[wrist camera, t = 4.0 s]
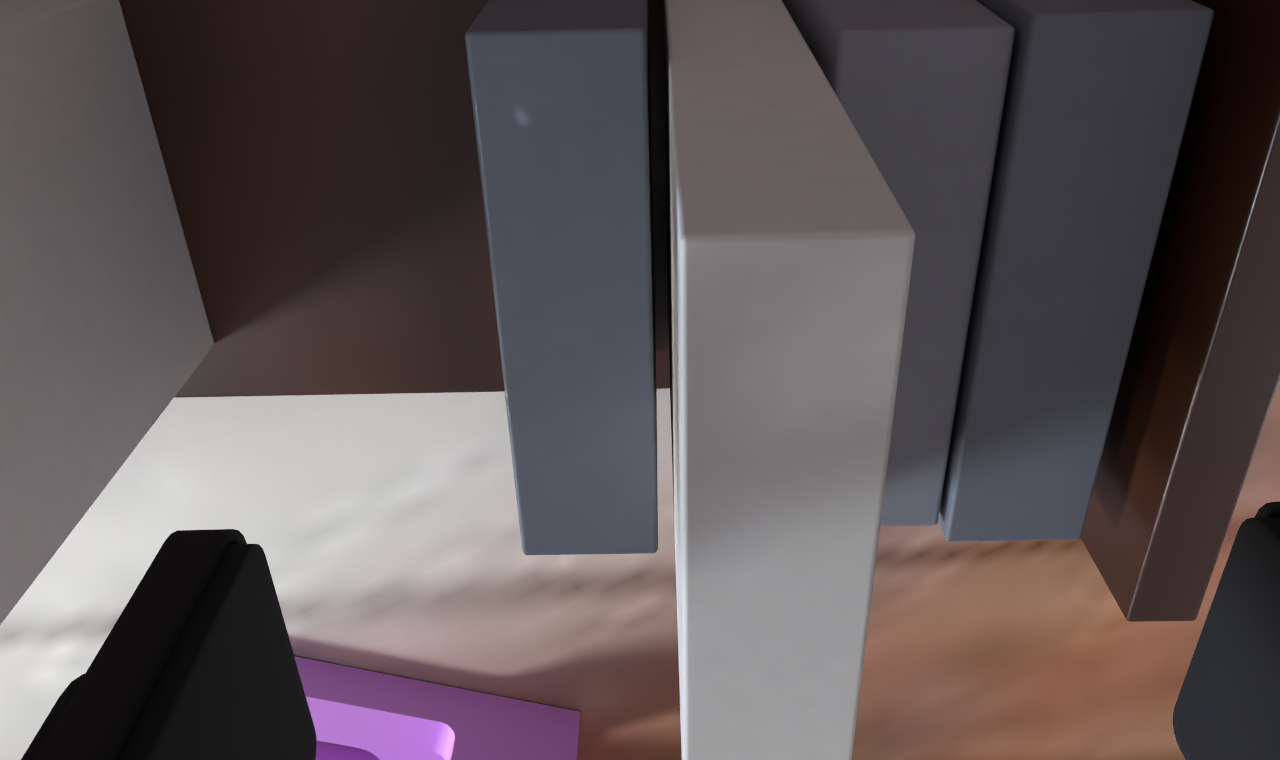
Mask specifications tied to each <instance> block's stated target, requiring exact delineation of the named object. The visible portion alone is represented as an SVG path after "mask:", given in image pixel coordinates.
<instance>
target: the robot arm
mask: <svg viewBox="0 0 1280 760" xmlns="http://www.w3.org/2000/svg"><path fill="white" fill-rule="evenodd" d="M1173 727H1174V733H1175V737H1176V740H1177V743H1178V745H1179V748H1180V750H1181V752H1182V754H1183V755H1184V757H1185V759H1186V760H1280V502H1271V503H1266V504H1265V505H1264V506H1262V507H1261V508H1260V509H1259V510H1258V512H1257V514H1256V516H1255V518H1249V519H1246V520H1245V521H1244V522H1243V523H1242V524H1241V526H1240V528H1239V530H1238V533H1237V535H1236V538H1235V541H1234V544H1233V546H1232V549H1231V552H1230V555H1229V558H1228V560H1227V563H1226V566H1225V569H1224V571H1223V574H1222V577H1221V580H1220V583H1219V585H1218V588H1217V591H1216V594H1215V596H1214V599H1213V602H1212V605H1211V608H1210V610H1209V613H1208V616H1207V619H1206V621H1205V624H1204V627H1203V630H1202V633H1201V635H1200V638H1199V641H1198V644H1197V646H1196V649H1195V652H1194V655H1193V658H1192V660H1191V663H1190V666H1189V669H1188V671H1187V674H1186V677H1185V680H1184V683H1183V685H1182V688H1181V691H1180V694H1179V696H1178V699H1177V702H1176V705H1175V708H1174V712H1173ZM316 748H317V741H316V732H315V727H314V724H313V720H312V717H311V713H310V710H309V706H308V703H307V699H306V696H305V692H304V689H303V685H302V682H301V678H300V675H299V671H298V668H297V664H296V661H295V657H294V654H293V650H292V647H291V644H290V640H289V637H288V633H287V630H286V626H285V623H284V619H283V616H282V612H281V609H280V605H279V602H278V598H277V595H276V591H275V588H274V584H273V581H272V577H271V574H270V570H269V567H268V563H267V560H266V556H265V554H264V551H263V549H262V548H261V546H260V545H258V544H247V543H246V541H245V538H244V536H243V535H242V534H241V533H240V532H239V531H238V530H234V529H225V530H186V531H176V532H174V533H172V534H170V536H169V537H168V538H167V539H166V541H165V542H164V544H163V545H162V547H161V549H160V550H159V552H158V554H157V555H156V557H155V559H154V560H153V562H152V564H151V565H150V567H149V569H148V570H147V572H146V574H145V575H144V577H143V579H142V580H141V582H140V584H139V585H138V587H137V589H136V590H135V592H134V594H133V595H132V597H131V599H130V600H129V602H128V604H127V605H126V607H125V609H124V610H123V612H122V614H121V615H120V617H119V619H118V620H117V622H116V624H115V625H114V627H113V629H112V630H111V632H110V634H109V635H108V637H107V639H106V640H105V642H104V644H103V645H102V647H101V649H100V650H99V652H98V654H97V655H96V657H95V659H94V660H93V662H92V664H91V665H90V667H89V669H88V670H87V672H86V674H83V675H81V676H80V677H78V678H77V679H75V680H74V681H72V682H71V683H70V684H69V686H68V687H67V688H66V689H65V691H64V692H63V693H62V694H61V696H60V697H59V699H58V700H57V702H56V704H55V705H54V707H53V709H52V710H51V712H50V713H49V715H48V717H47V718H46V720H45V722H44V723H43V725H42V726H41V728H40V730H39V731H38V733H37V735H36V736H35V738H34V740H33V741H32V743H31V744H30V746H29V748H28V749H27V751H26V753H25V754H24V756H23V757H22V759H21V760H315V759H316Z"/></svg>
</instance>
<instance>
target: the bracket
mask: <svg viewBox="0 0 1280 760" xmlns="http://www.w3.org/2000/svg"><path fill="white" fill-rule="evenodd" d="M294 657H295V661H296V664H297V668H298V671H299V675H300V678H301V682H302V685H303V689H304V692H305V696H306V699H307V703H308V706H309V710H310V713H311V717H312V720H313V724H314V727H315V732H316V740H317V748H316V759H315V760H577V750H578V737H579V723H580V712H579V711H574V710H569V709H563V708H558V707H553V706H548V705H543V704H538V703H533V702H527V701H522V700H517V699H512V698H507V697H502V696H497V695H491V694H486V693H481V692H476V691H471V690H466V689H460V688H455V687H450V686H445V685H440V684H435V683H430V682H424V681H419V680H414V679H409V678H404V677H399V676H394V675H388V674H383V673H378V672H373V671H368V670H363V669H357V668H352V667H347V666H342V665H337V664H332V663H327V662H321V661H316V660H311V659H306V658H301V657H296V656H294ZM318 741H322V742H318ZM323 742H328V743H323ZM329 743H333V744H329ZM334 744H339V745H334ZM340 745H344V746H340ZM345 746H349V747H345ZM350 747H355V748H350ZM356 748H360V749H356ZM361 749H363V750H361Z"/></svg>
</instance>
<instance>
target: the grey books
mask: <svg viewBox="0 0 1280 760" xmlns="http://www.w3.org/2000/svg"><path fill="white" fill-rule="evenodd" d="M782 2H783V3H784V5H785V7H786V9H787V10H788V12H789V14H790V16H791V17H792V19H793V21H794V23H795V24H796V26H797V28H798V30H799V31H800V33H801V35H802V37H803V38H804V40H805V42H806V44H807V45H808V47H809V49H810V51H811V52H812V54H813V56H814V57H815V59H816V61H817V63H818V64H819V66H820V68H821V70H822V71H823V73H824V75H825V77H826V78H827V80H828V82H829V84H830V85H831V87H832V89H833V91H834V92H835V94H836V96H837V98H838V99H839V101H840V103H841V105H842V106H843V108H844V110H845V112H846V113H847V115H848V117H849V119H850V120H851V122H852V124H853V126H854V127H855V129H856V131H857V133H858V134H859V136H860V138H861V140H862V141H863V143H864V145H865V147H866V148H867V150H868V152H869V154H870V155H871V157H872V159H873V160H874V162H875V164H876V166H877V167H878V169H879V171H880V173H881V174H882V176H883V178H884V180H885V181H886V183H887V185H888V187H889V188H890V190H891V192H892V194H893V195H894V197H895V199H896V201H897V202H898V204H899V206H900V208H901V209H902V211H903V213H904V215H905V216H906V218H907V220H908V222H909V223H910V225H911V227H912V229H913V230H914V233H915V242H914V251H913V259H912V267H911V275H910V284H909V292H908V300H907V308H906V317H905V325H904V333H903V341H902V350H901V358H900V366H899V374H898V383H897V391H896V399H895V407H894V415H893V424H892V432H891V440H890V448H889V457H888V465H887V473H886V481H885V490H884V498H883V506H882V514H881V523H880V526H920V525H935V524H937V521H938V520H939V523H940V526H941V528H942V531H943V533H944V536H945V539H946V540H947V541H1014V540H1078V539H1080V538H1081V536H1082V532H1083V528H1084V524H1085V520H1086V516H1087V512H1088V508H1089V504H1090V500H1091V496H1092V493H1093V489H1094V485H1095V481H1096V477H1097V473H1098V469H1099V465H1100V461H1101V457H1102V453H1103V449H1104V445H1105V441H1106V437H1107V433H1108V430H1109V426H1110V422H1111V418H1112V414H1113V410H1114V406H1115V402H1116V398H1117V394H1118V390H1119V386H1120V382H1121V378H1122V374H1123V370H1124V366H1125V363H1126V359H1127V355H1128V351H1129V347H1130V343H1131V339H1132V335H1133V331H1134V327H1135V323H1136V319H1137V315H1138V311H1139V307H1140V303H1141V299H1142V296H1143V292H1144V288H1145V284H1146V280H1147V276H1148V272H1149V268H1150V264H1151V260H1152V256H1153V252H1154V248H1155V244H1156V240H1157V236H1158V232H1159V229H1160V225H1161V221H1162V217H1163V213H1164V209H1165V205H1166V201H1167V197H1168V193H1169V189H1170V185H1171V181H1172V177H1173V173H1174V169H1175V165H1176V162H1177V158H1178V154H1179V150H1180V146H1181V142H1182V138H1183V134H1184V130H1185V126H1186V122H1187V118H1188V114H1189V110H1190V106H1191V102H1192V98H1193V95H1194V91H1195V87H1196V83H1197V79H1198V75H1199V71H1200V67H1201V63H1202V59H1203V55H1204V51H1205V47H1206V43H1207V39H1208V35H1209V32H1210V28H1211V24H1212V20H1213V16H1214V11H1213V10H1212V9H1210V8H1208V7H1205V6H1203V5H1201V4H1198V3H1196V2H1194V1H1191V0H782ZM465 42H466V51H467V60H468V69H469V78H470V87H471V96H472V105H473V113H474V122H475V131H476V140H477V149H478V158H479V167H480V176H481V185H482V193H483V202H484V211H485V220H486V229H487V238H488V247H489V256H490V265H491V274H492V282H493V291H494V300H495V309H496V318H497V327H498V336H499V345H500V354H501V362H502V371H503V380H504V389H505V398H506V407H507V416H508V425H509V434H510V442H511V451H512V460H513V469H514V478H515V487H516V496H517V505H518V514H519V523H520V531H521V540H522V549H523V552H524V554H526V555H561V554H629V553H655V552H656V551H657V549H658V511H657V401H656V327H655V281H654V234H653V188H652V142H651V96H650V49H649V3H648V0H489V1H488V2H487V4H486V5H485V7H484V8H483V9H482V11H481V12H480V14H479V15H478V16H477V18H476V19H475V21H474V22H473V24H472V25H471V26H470V28H469V29H468V31H467V32H466V35H465Z"/></svg>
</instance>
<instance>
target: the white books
mask: <svg viewBox="0 0 1280 760" xmlns="http://www.w3.org/2000/svg"><path fill="white" fill-rule="evenodd" d="M213 345H214V340H213V337H212V333H211V330H210V326H209V322H208V319H207V315H206V312H205V308H204V304H203V301H202V297H201V294H200V290H199V286H198V283H197V279H196V276H195V272H194V269H193V265H192V261H191V258H190V254H189V251H188V247H187V243H186V240H185V236H184V233H183V229H182V225H181V222H180V218H179V215H178V211H177V207H176V204H175V200H174V197H173V193H172V189H171V186H170V182H169V179H168V175H167V171H166V168H165V164H164V161H163V157H162V153H161V150H160V146H159V143H158V139H157V135H156V132H155V128H154V125H153V121H152V117H151V114H150V110H149V107H148V103H147V99H146V96H145V92H144V89H143V85H142V81H141V78H140V74H139V71H138V67H137V63H136V60H135V56H134V53H133V49H132V45H131V42H130V38H129V35H128V31H127V27H126V24H125V20H124V17H123V13H122V9H121V6H120V2H119V0H0V625H1V623H2V622H3V621H4V619H5V618H6V617H7V615H8V614H9V613H10V611H11V610H12V609H13V607H14V606H15V605H16V604H17V602H18V601H19V600H20V598H21V597H22V596H23V594H24V593H25V592H26V590H27V589H28V588H29V586H30V585H31V584H32V583H33V581H34V580H35V579H36V577H37V576H38V575H39V573H40V572H41V571H42V569H43V568H44V567H45V565H46V564H47V563H48V562H49V560H50V559H51V558H52V556H53V555H54V554H55V552H56V551H57V550H58V548H59V547H60V546H61V545H62V543H63V542H64V541H65V539H66V538H67V537H68V535H69V534H70V533H71V531H72V530H73V529H74V527H75V526H76V525H77V524H78V522H79V521H80V520H81V518H82V517H83V516H84V514H85V513H86V512H87V510H88V509H89V508H90V506H91V505H92V504H93V503H94V501H95V500H96V499H97V497H98V496H99V495H100V493H101V492H102V491H103V489H104V488H105V487H106V485H107V484H108V483H109V482H110V480H111V479H112V478H113V476H114V475H115V474H116V472H117V471H118V470H119V468H120V467H121V466H122V465H123V463H124V462H125V461H126V459H127V458H128V457H129V455H130V454H131V453H132V451H133V450H134V449H135V447H136V446H137V445H138V444H139V442H140V441H141V440H142V438H143V437H144V436H145V434H146V433H147V432H148V430H149V429H150V428H151V426H152V425H153V424H154V423H155V421H156V420H157V419H158V417H159V416H160V415H161V413H162V412H163V411H164V409H165V408H166V407H167V405H168V404H169V403H170V402H171V400H172V399H173V398H174V396H175V395H176V394H177V392H178V391H179V390H180V388H181V387H182V386H183V385H184V383H185V382H186V381H187V379H188V378H189V377H190V375H191V374H192V373H193V371H194V370H195V369H196V367H197V366H198V365H199V364H200V362H201V361H202V360H203V358H204V357H205V356H206V354H207V353H208V352H209V350H210V349H211V348H212V346H213Z"/></svg>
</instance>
